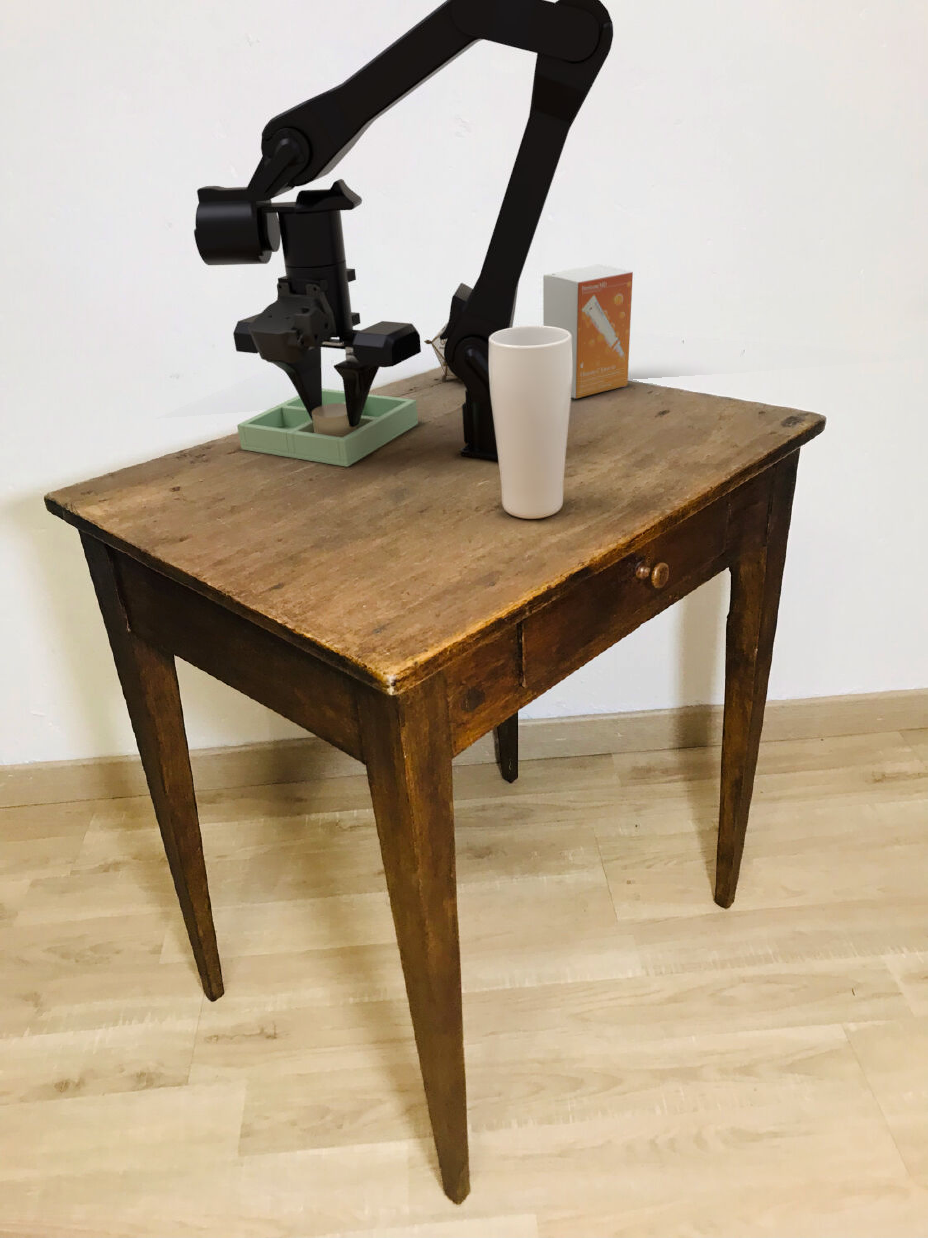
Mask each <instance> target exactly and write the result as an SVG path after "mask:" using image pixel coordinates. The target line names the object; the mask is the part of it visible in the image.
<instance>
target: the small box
mask: <svg viewBox="0 0 928 1238" xmlns="http://www.w3.org/2000/svg"><path fill="white" fill-rule="evenodd" d="M633 275H634V272H633V271H630V270H626V269H622V268H616V267H613V266H607V265H603V264H594V265H590V266H585V267H577V268H571V269H565V270H562V271H559V272H553V273H547V274H543V277H542V282H543V283H542V284H543V285H542V286H543V287H542V289H543V290H542V292H543V293H542V295H543V296H542V297H543V300H542V303H543V307H542V308H543V312H542V313H543V315H542V316H543V320H542V321H543V322H542V323H543V324H542V326H551V327H557V328H561V329H565V330H567V331H568V332H570V333H571V336H572V362H573V372H572V394H571V399H575V400H577V399H580V398H581V399H582V398H583V397H587V396H591V395H595V394H599V393H602V392H606V391H611V390H615V389H620V388H625V387H627V386H628V383H629V379H628V378H629V360H630V343H631V342H630V340H631V322H632V321H631V318H632V301H633V300H632V299H633V296H632V295H633V278H634V277H633Z"/></svg>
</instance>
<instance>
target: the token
mask: <svg viewBox="0 0 928 1238" xmlns="http://www.w3.org/2000/svg"><path fill="white" fill-rule="evenodd" d="M312 419H313V426H314V434H321V435H328V436H334V437H341V438H343V437H345V436H347V435H348V434H350V433H352V432H354V431H355V430H357V426H355V427H351V426H350V425H349V420H348V416H347V410H346V404H342V403H335V404H327V405H322V406H319V407H317V408H315V409H313V411H312Z"/></svg>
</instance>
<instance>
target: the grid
mask: <svg viewBox="0 0 928 1238" xmlns="http://www.w3.org/2000/svg"><path fill="white" fill-rule="evenodd" d="M335 403H342V404H346V402H345V393H344V390H340V389H339V390H338V389H330V388H323V387H322V405H327V404H335ZM417 406H418V405H417V399H411V398H404V397H397V396H395V397H394V396H388V395H387V396H386V395H379V394H370V393H369V394H368V397H367V400H366V403H365V406H364V409H363V412H362V415H361V419H360V422H359V424H358V425H357V430H355V431H354V432H352V433H350V434H348V435H347V436H345V437H343V438H341V437H334V436H328V435H321V434H314V426H313V421H312V420H311V418H310V416H309V414H308V412H307V410H306V408H305V406H304V404H303V402H302V400H301V398H300V396H299V395H298V394H297V395H296V396H294V397H292V398H290V399H288V400H286V401H283V402H281V403H279V404H277V405H275V406H273V407H271V408H269V409H267V410H265V411H263V412H261V413H259V414H257V415H255V416H252V417H250V418H248V419H245V420H244V421H242V422H240V423H237V424H236V427H237V432H238V437H239V443H240V449H241V450H243V451H250V452H254V453H255V452H256V453H261V454H267V455H274V456H279V457H286V458H291V459H298V460H304V461H311V462H316V463H322V464H328V465H334V466H341V467H346V468H348V467H350V466H352V465H353V464H354V463H356V462H358V461H360V460H362V459H363V458H364V457H366V456H368V455H369V454H371V453H373V452H374V451H376V450H378V449H379V448H381V447H384V445H386V444H388V443H389V442H391V441H392V440H394V439H396V438H398V437H399V436H401V435H402V434H404V433H406V432H407V431H409V430H410V429H412V428H413V427H415V426H417V425H419V420H418V419H419V418H418V407H417Z"/></svg>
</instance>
